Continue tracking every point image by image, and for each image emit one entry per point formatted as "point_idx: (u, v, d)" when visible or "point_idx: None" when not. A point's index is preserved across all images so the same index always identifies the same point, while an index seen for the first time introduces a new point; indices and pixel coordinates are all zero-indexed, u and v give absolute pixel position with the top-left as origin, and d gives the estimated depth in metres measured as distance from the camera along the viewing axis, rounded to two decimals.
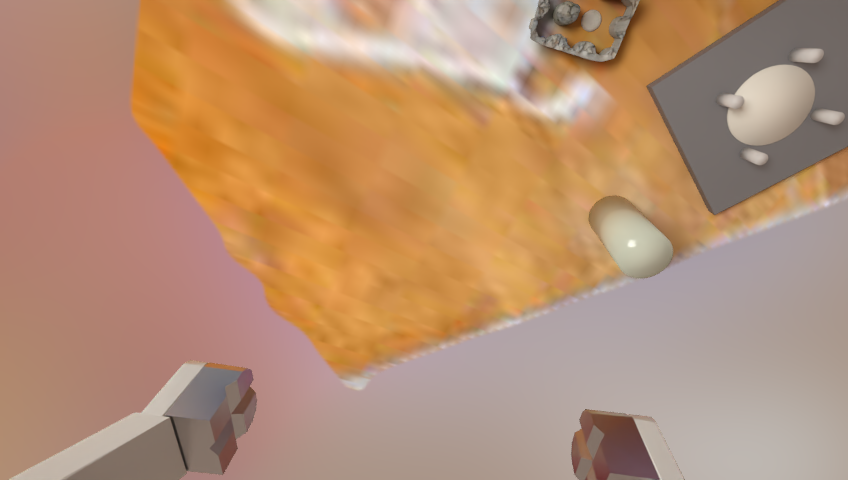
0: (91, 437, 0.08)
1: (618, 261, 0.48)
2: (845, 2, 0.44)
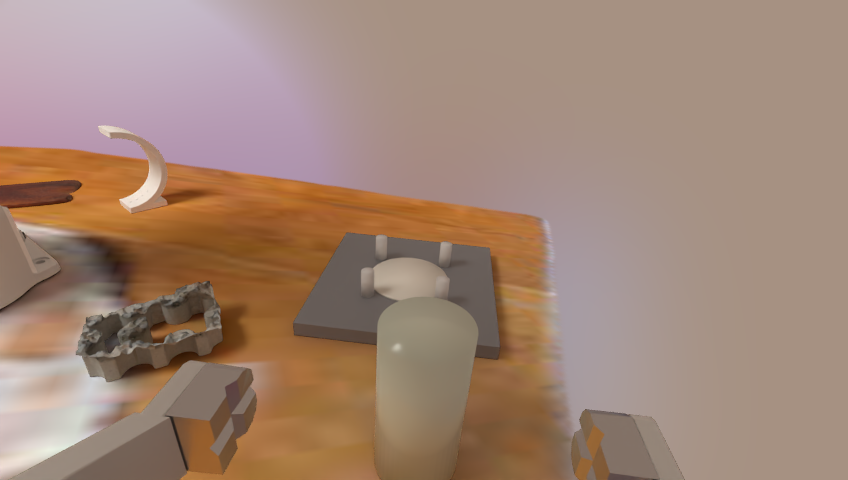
0: (91, 437, 0.08)
1: (405, 356, 0.22)
2: (372, 236, 0.57)
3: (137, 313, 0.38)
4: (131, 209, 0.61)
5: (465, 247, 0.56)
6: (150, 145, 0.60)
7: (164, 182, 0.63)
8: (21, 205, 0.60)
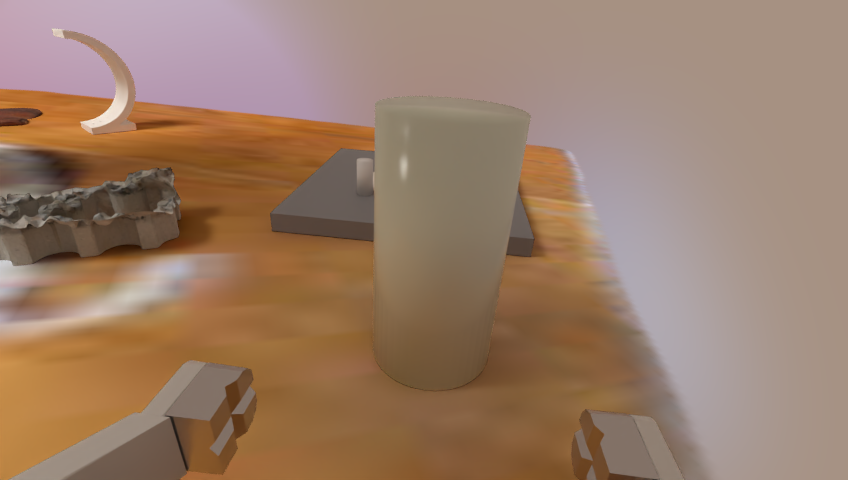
0: (91, 437, 0.08)
1: (420, 119, 0.14)
2: (371, 152, 0.48)
3: (74, 196, 0.30)
4: (92, 129, 0.53)
5: None
6: (113, 54, 0.52)
7: (132, 101, 0.55)
8: None
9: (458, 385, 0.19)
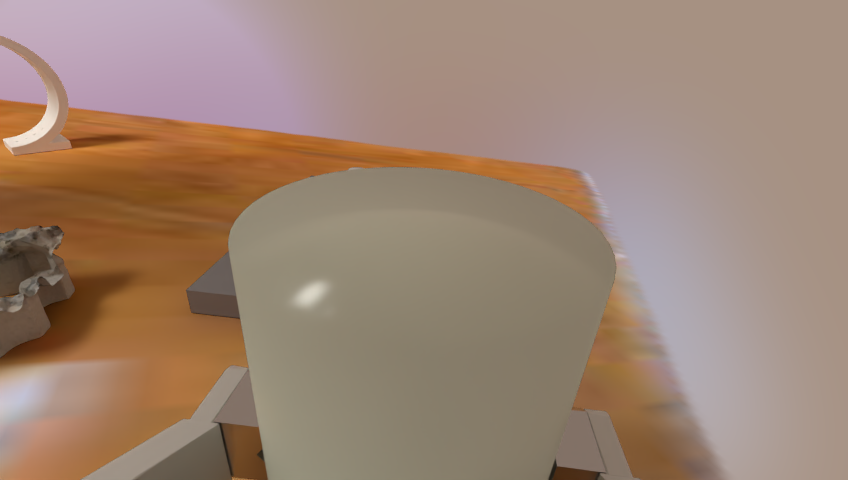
0: (143, 444, 0.08)
1: (312, 316, 0.04)
2: None
3: None
4: (13, 149, 0.44)
5: None
6: (37, 58, 0.43)
7: (64, 115, 0.46)
8: None
9: None
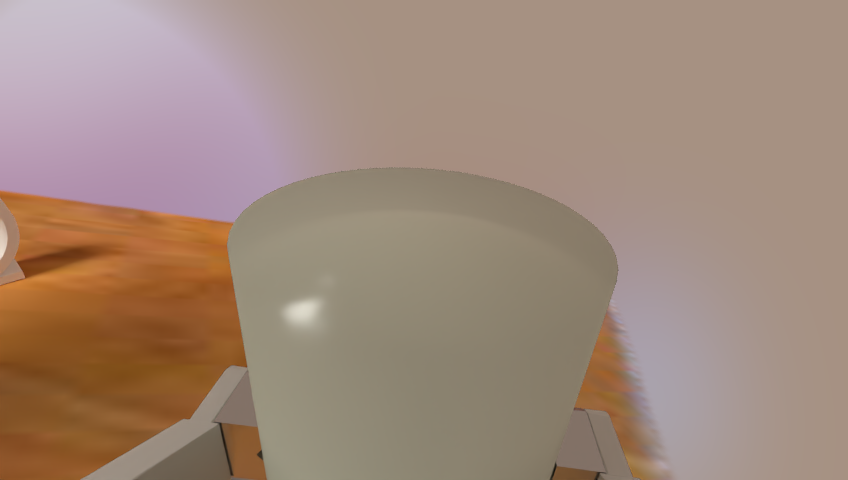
0: (143, 444, 0.08)
1: (312, 319, 0.04)
2: None
3: None
4: None
5: None
6: None
7: (14, 245, 0.40)
8: None
9: None
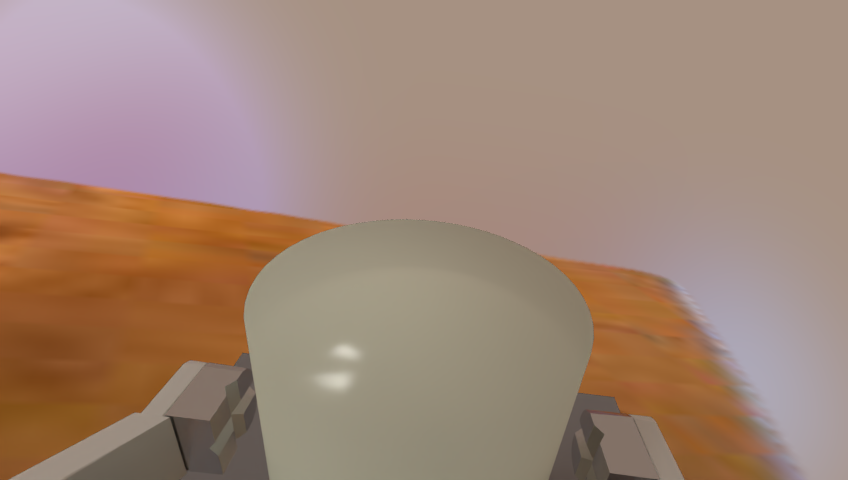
0: (91, 437, 0.08)
1: (321, 400, 0.05)
2: None
3: None
4: None
5: None
6: None
7: None
8: None
9: None
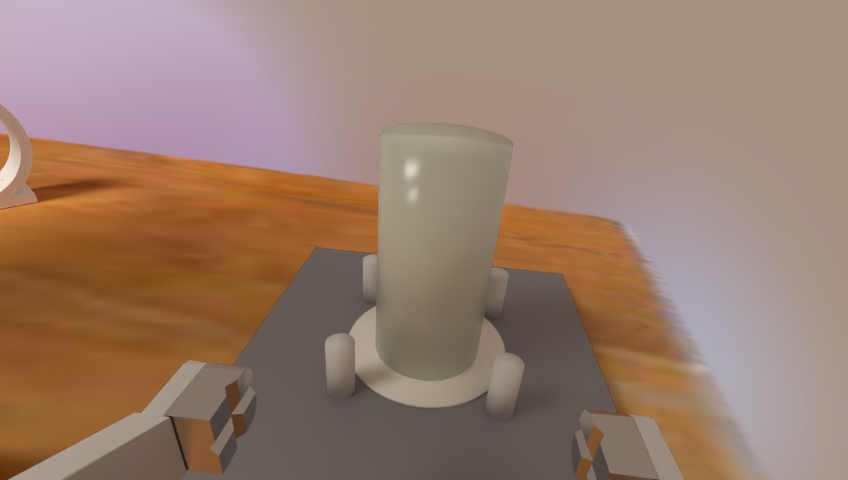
0: (91, 437, 0.08)
1: (418, 151, 0.16)
2: (360, 254, 0.33)
3: None
4: None
5: (521, 273, 0.32)
6: None
7: (27, 165, 0.39)
8: None
9: (450, 376, 0.22)
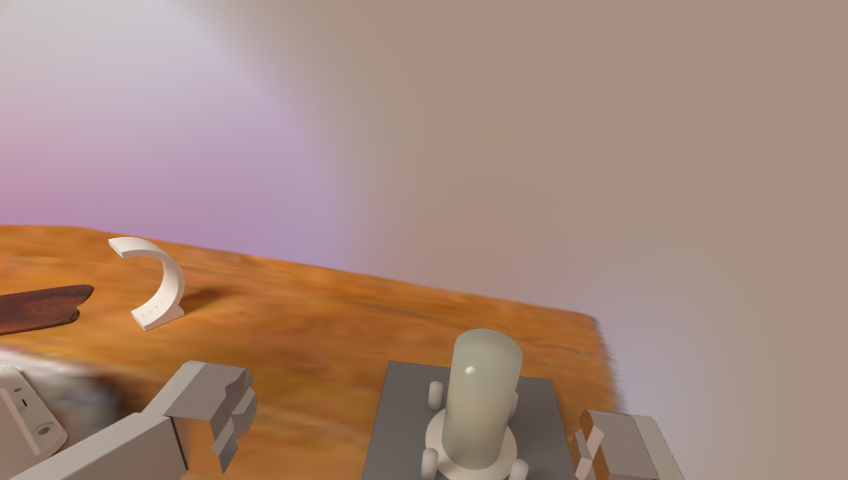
0: (91, 437, 0.08)
1: (477, 372, 0.33)
2: (419, 366, 0.50)
3: None
4: (145, 327, 0.54)
5: (525, 380, 0.49)
6: (166, 257, 0.53)
7: (181, 292, 0.56)
8: (19, 330, 0.53)
9: (486, 467, 0.39)
